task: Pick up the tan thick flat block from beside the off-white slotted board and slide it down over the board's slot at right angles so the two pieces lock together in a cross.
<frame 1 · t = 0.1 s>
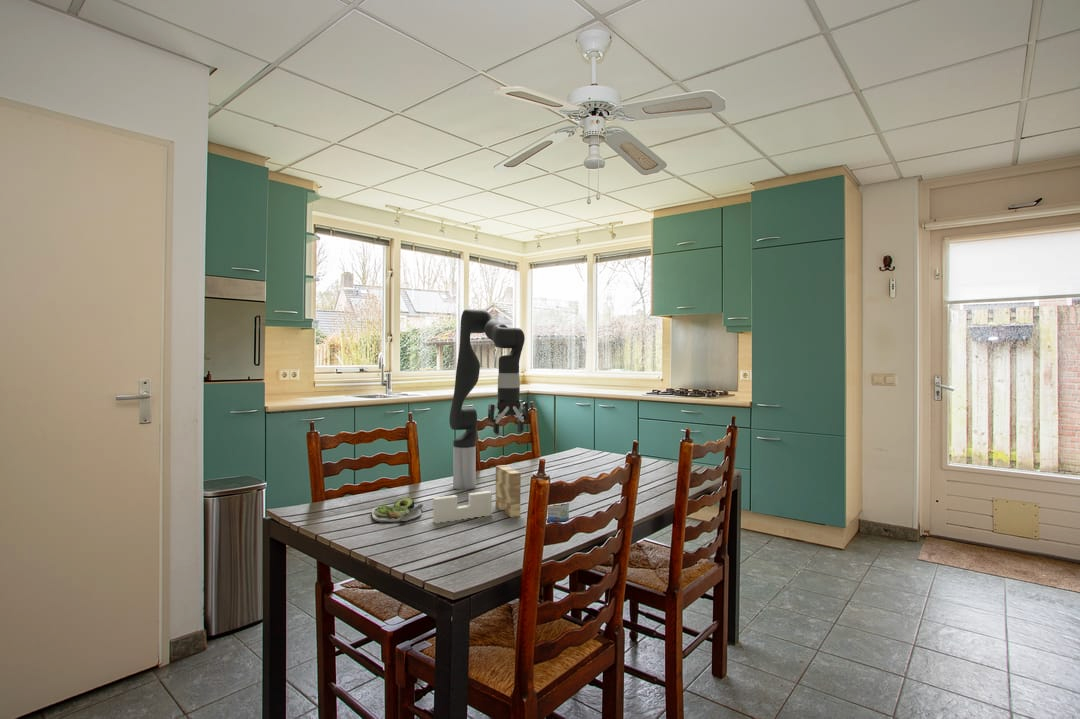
hand: (508, 433, 186), 29 cm above the table, tool pointing down, fingers open, 8 cm apart
tan thick flat block: (507, 511, 193), on the table
slotted board: (462, 518, 185), on the table
salad plate: (397, 516, 189), on the table
medicine box: (556, 520, 184), on the table
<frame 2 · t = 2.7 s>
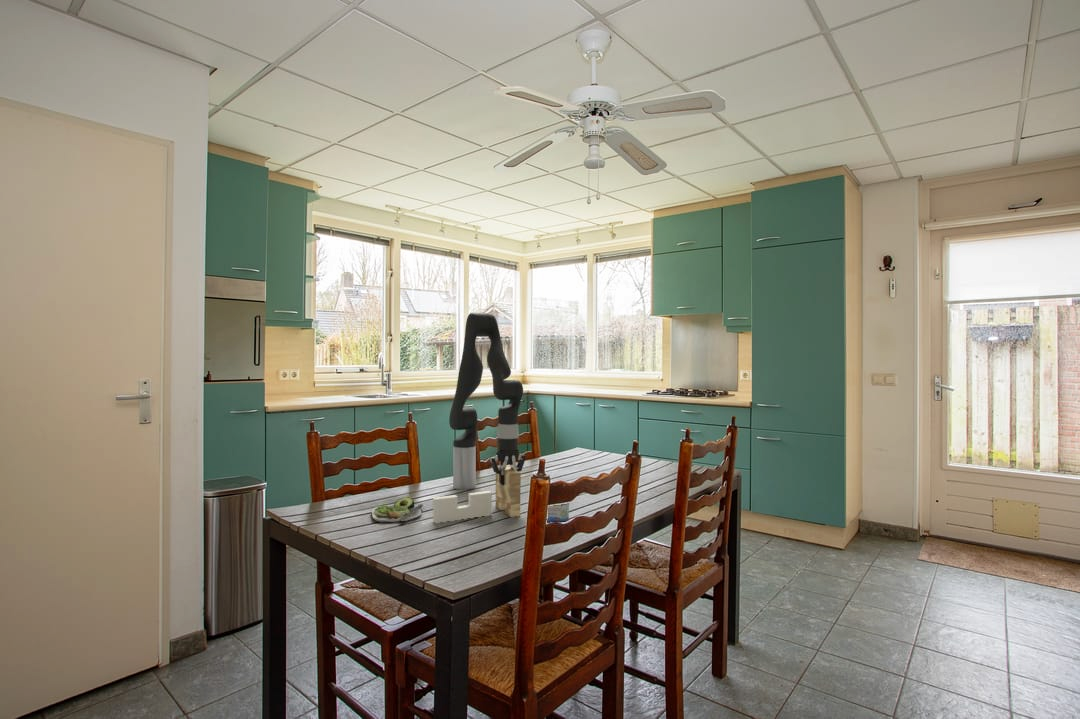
hand: (507, 484, 193), 10 cm above the table, tool pointing down, fingers closed on tan thick flat block, 3 cm apart
tan thick flat block: (507, 511, 193), on the table, touching gripper
everything else where it was.
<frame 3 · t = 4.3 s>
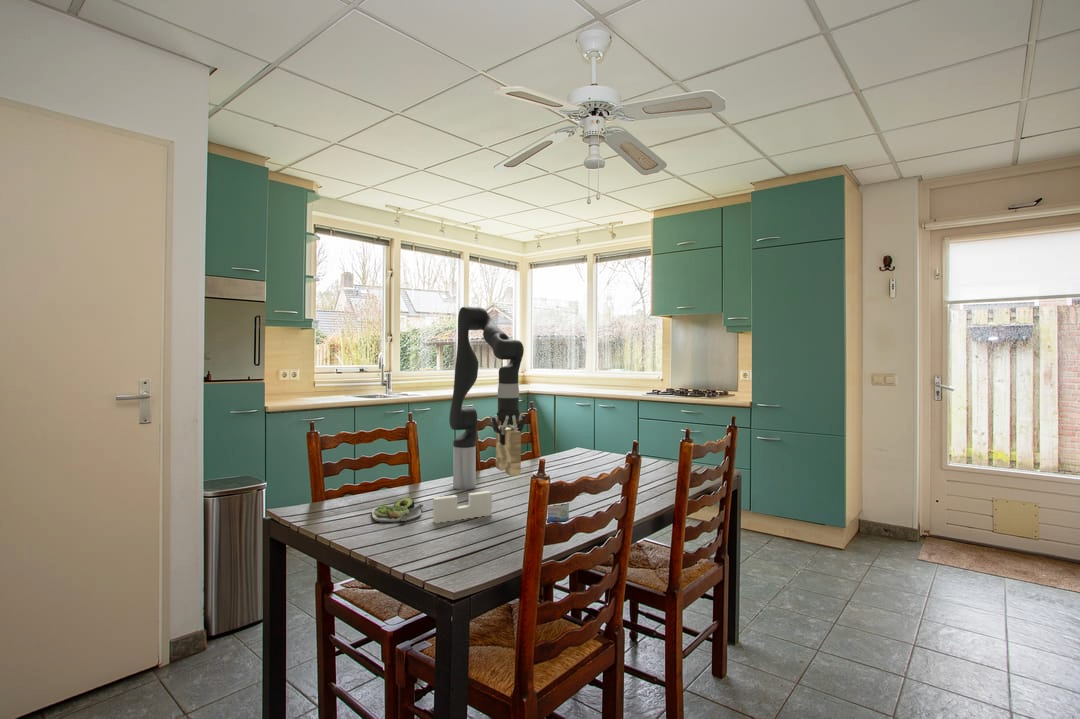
hand: (507, 444, 193), 24 cm above the table, tool pointing down, fingers closed on tan thick flat block, 3 cm apart
tan thick flat block: (507, 471, 193), point 14 cm above the table, touching gripper
everything else where it was.
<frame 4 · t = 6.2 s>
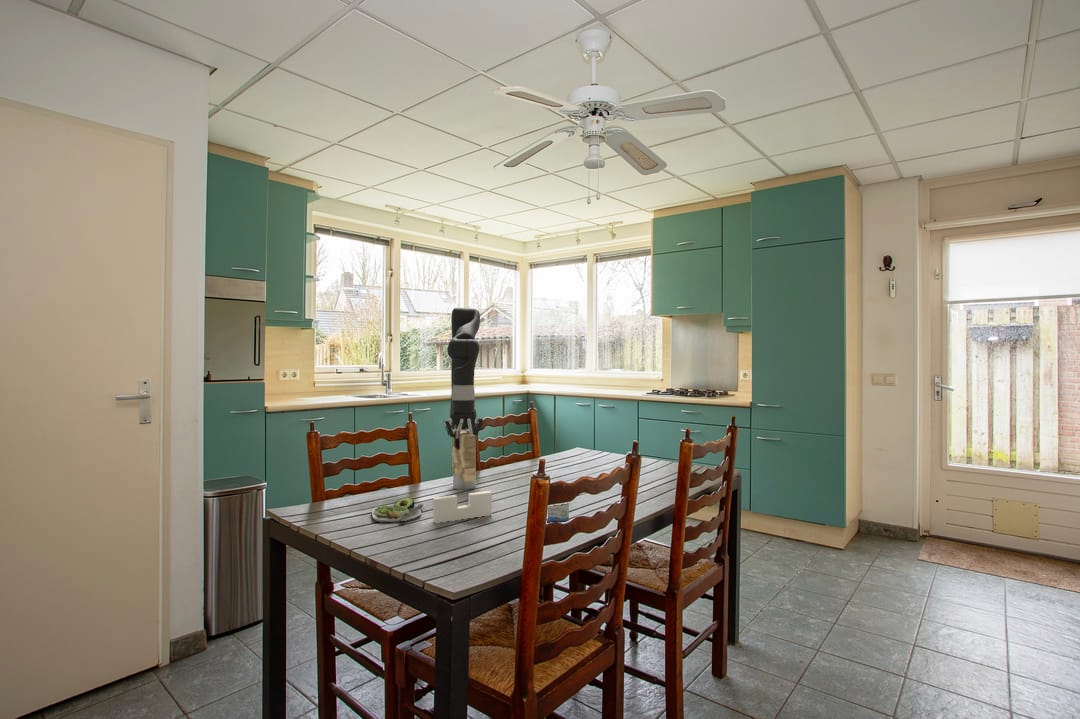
hand: (463, 448, 184), 24 cm above the table, tool pointing down, fingers closed on tan thick flat block, 3 cm apart
tan thick flat block: (463, 476, 184), point 14 cm above the table, touching gripper
everything else where it was.
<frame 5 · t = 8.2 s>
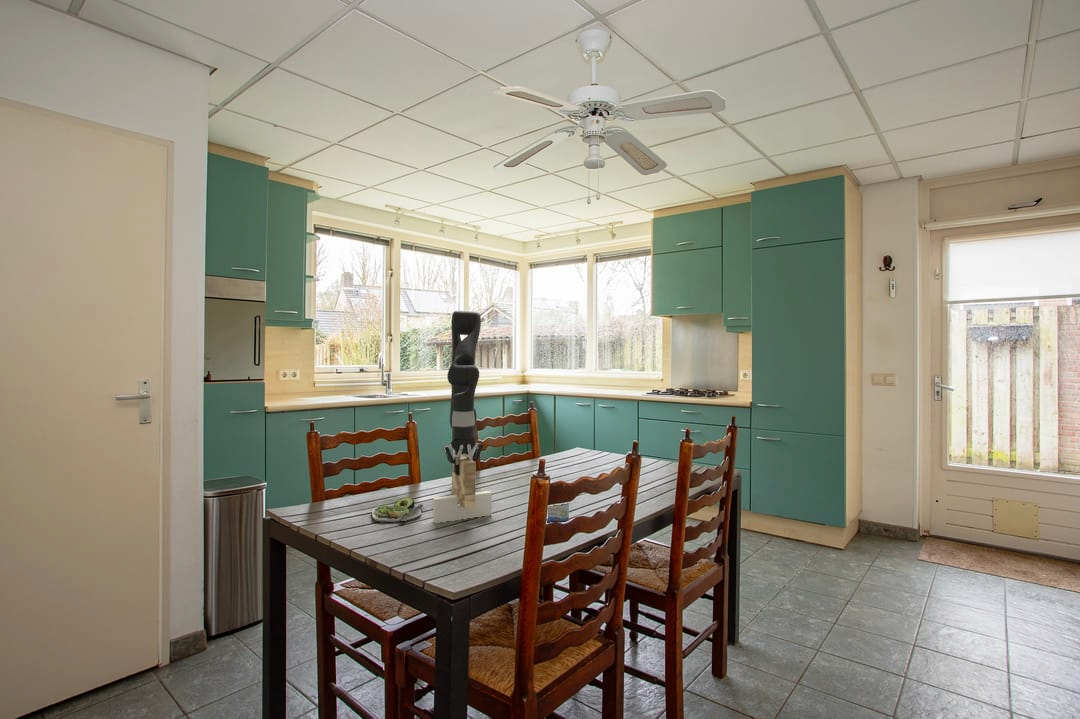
hand: (463, 474, 184), 15 cm above the table, tool pointing down, fingers closed on tan thick flat block, 3 cm apart
tan thick flat block: (463, 502, 185), point 5 cm above the table, touching gripper
everything else where it was.
when the fingers open (10 cm above the table, at t = 10.0 s): tan thick flat block stays where it is, on the table.
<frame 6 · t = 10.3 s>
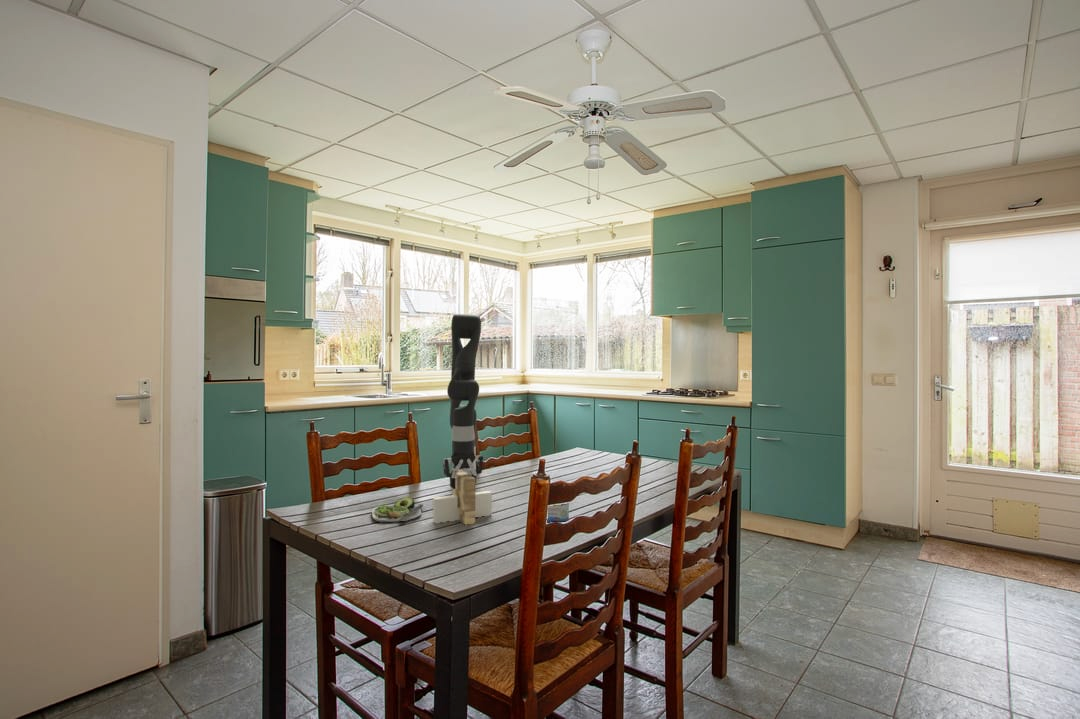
hand: (463, 487, 184), 11 cm above the table, tool pointing down, fingers open, 6 cm apart
tan thick flat block: (463, 518, 185), on the table
everything else where it was.
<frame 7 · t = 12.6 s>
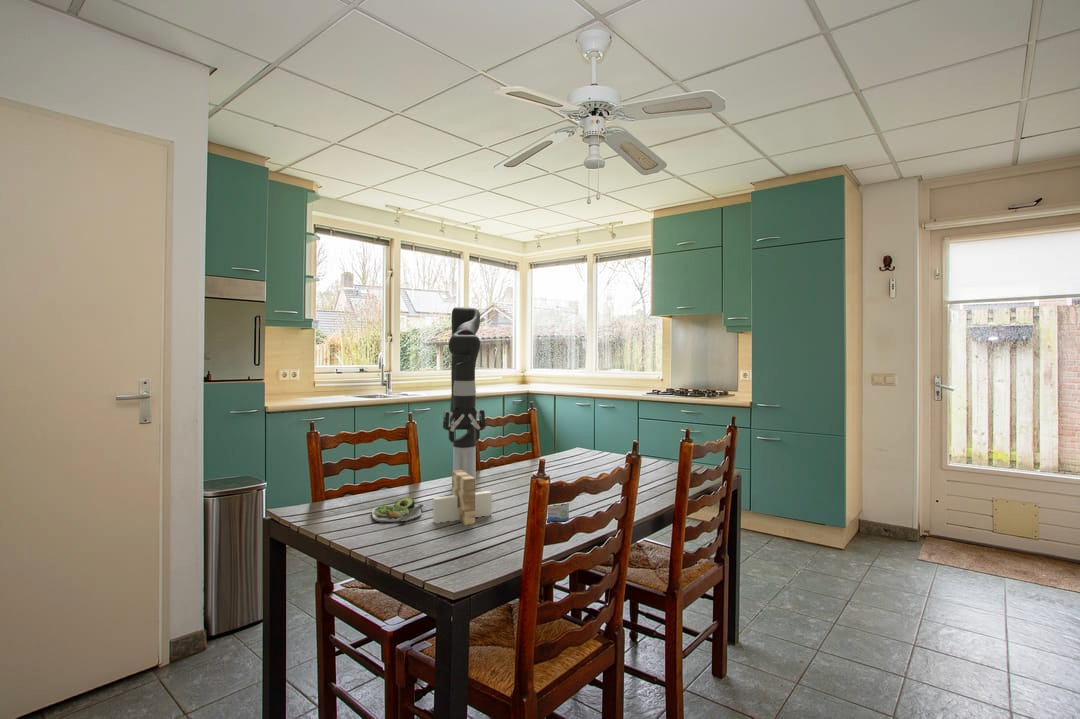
hand: (464, 441, 185), 26 cm above the table, tool pointing down, fingers open, 8 cm apart
nothing on the table moved.
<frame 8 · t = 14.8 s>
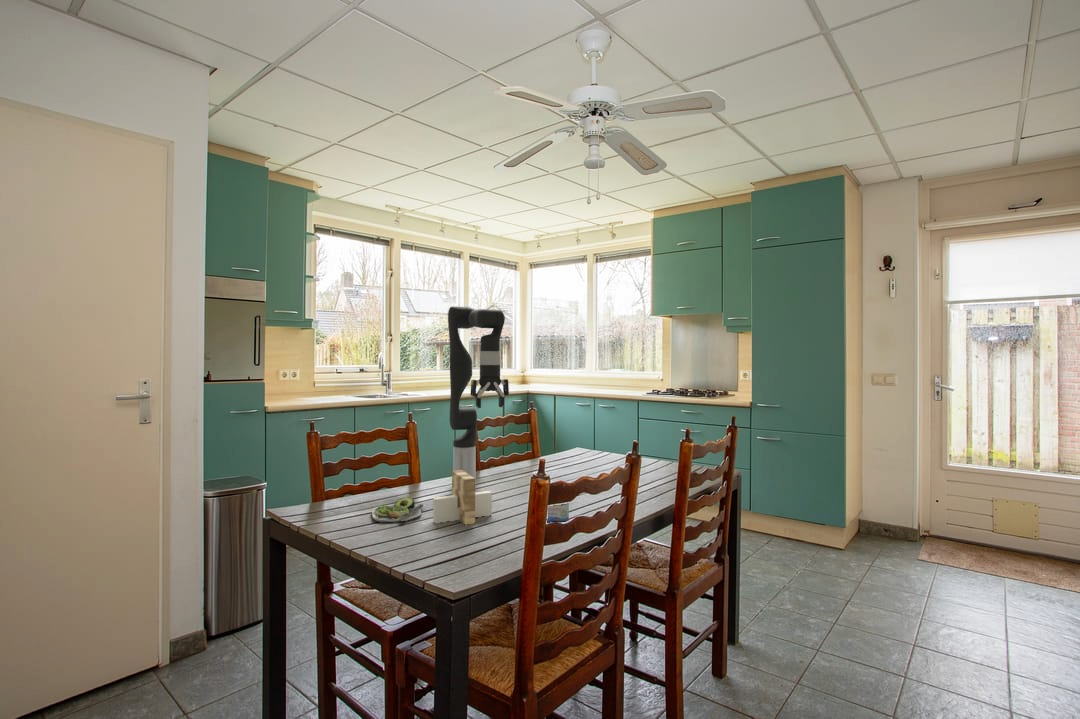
hand: (489, 407, 200), 36 cm above the table, tool pointing down, fingers open, 8 cm apart
nothing on the table moved.
at the end: tan thick flat block 0.1 cm off-centre on the slotted board, point 0.0 cm above the slotted board's base; tan thick flat block tilted 0°; the gripper is holding nothing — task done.
